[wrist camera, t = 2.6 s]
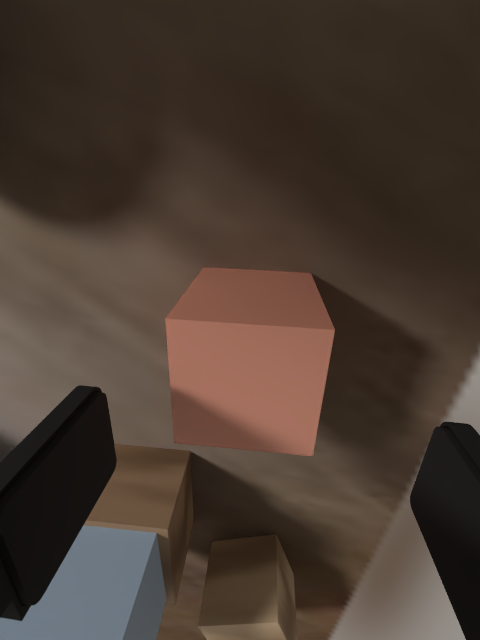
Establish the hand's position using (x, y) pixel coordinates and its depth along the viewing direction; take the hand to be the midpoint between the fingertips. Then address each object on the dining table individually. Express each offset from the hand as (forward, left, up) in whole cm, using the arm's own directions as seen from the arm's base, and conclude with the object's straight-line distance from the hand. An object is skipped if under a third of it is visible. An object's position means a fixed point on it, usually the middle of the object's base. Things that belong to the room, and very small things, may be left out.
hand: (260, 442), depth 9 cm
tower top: (+12, -8, -3) cm, 15 cm away
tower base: (+12, -8, -8) cm, 16 cm away
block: (+19, 0, -8) cm, 21 cm away
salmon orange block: (-1, -1, -8) cm, 8 cm away
